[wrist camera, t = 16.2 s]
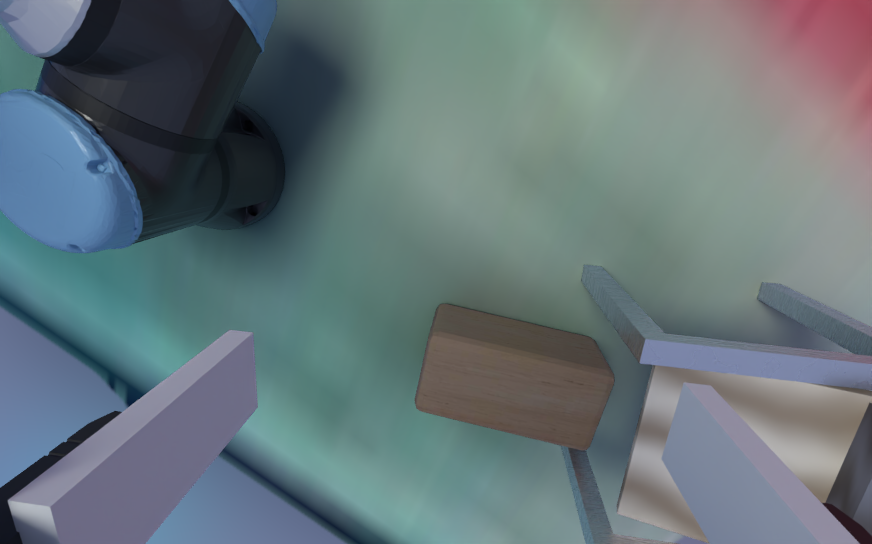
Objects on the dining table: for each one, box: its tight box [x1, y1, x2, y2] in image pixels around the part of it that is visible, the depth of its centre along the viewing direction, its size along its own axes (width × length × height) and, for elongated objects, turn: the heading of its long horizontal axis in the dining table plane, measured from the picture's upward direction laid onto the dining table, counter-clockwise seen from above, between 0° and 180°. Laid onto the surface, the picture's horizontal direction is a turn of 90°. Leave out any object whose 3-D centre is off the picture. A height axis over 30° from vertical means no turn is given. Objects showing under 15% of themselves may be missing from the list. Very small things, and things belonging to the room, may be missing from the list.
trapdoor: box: [617, 365, 872, 544], centre depth 33 cm, size 17×19×4 cm
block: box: [415, 304, 614, 450], centre depth 50 cm, size 10×10×20 cm
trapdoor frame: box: [561, 265, 872, 544], centre depth 43 cm, size 22×22×20 cm
